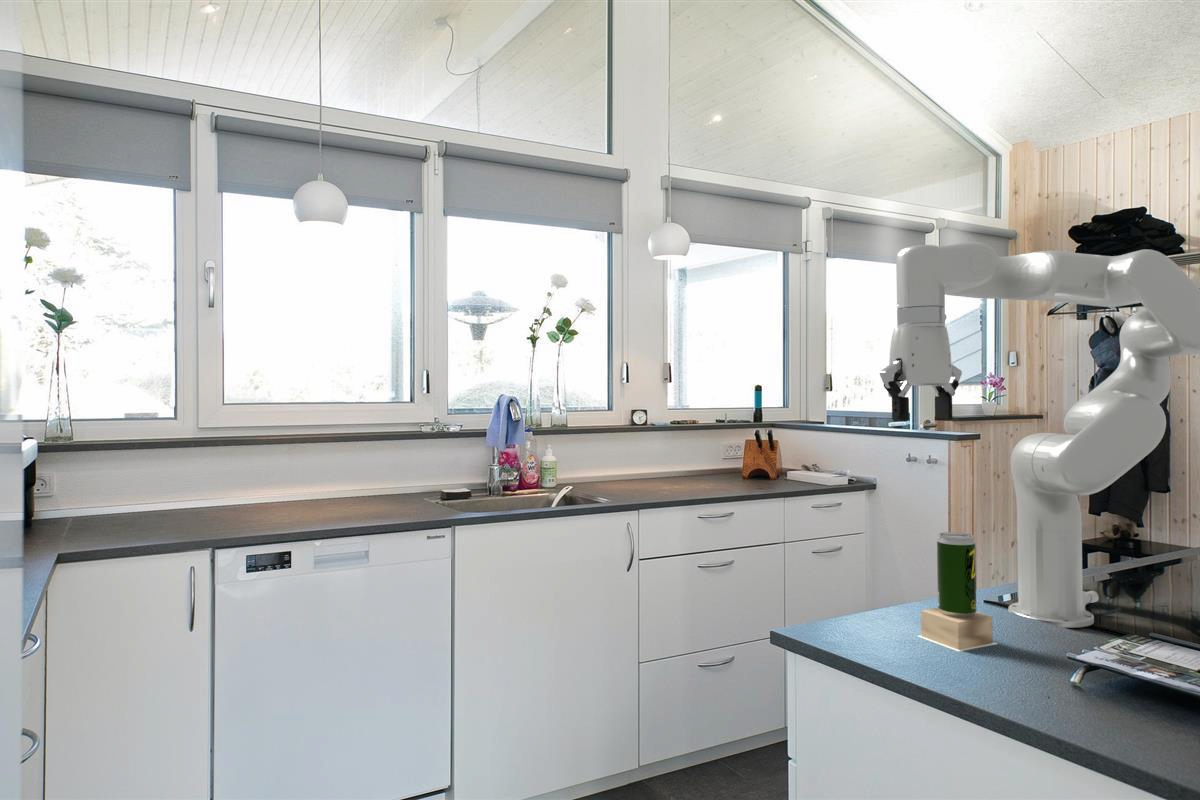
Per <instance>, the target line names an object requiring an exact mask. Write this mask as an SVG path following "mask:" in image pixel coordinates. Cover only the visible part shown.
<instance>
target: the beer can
mask: <svg viewBox="0 0 1200 800" xmlns="http://www.w3.org/2000/svg"><path fill="white" fill-rule="evenodd" d="M974 537H975V536H974V535H973V534H970V533H965V532H954V531H953V532H951V531H949V532H948V531H947V532H945V531H944V532H939V533H938V538H937V540H936V550H937V551H936V557H937V559H936V560H937V561H936V564H937V565H936V567H937V569H936V570H937V573H936V574H937V608H939V611H940V612H941V613H942V614H943V615H946V616H950V617H957V618H969V617H973V616H974V615H975V613H976V612H977V561H976V558H977V557H976V555H977V554H976V551H977V550H976V549H977V548H976V541H975V539H974Z"/></svg>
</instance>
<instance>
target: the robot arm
mask: <svg viewBox="0 0 1200 800" xmlns="http://www.w3.org/2000/svg"><path fill="white" fill-rule="evenodd" d="M896 254H897V255H896V259H895V261H896V262H895V263H896V264H895V265H896V322H897V323H896V324H897V327H894V328H893V332H892V336H891V341H890V347H889V361H888V362H889V363H888V365H887V366H886V367H885V368H883V369H882V370H880V371H879V376H880V378H881V380H882V383H883V388H884V389H885V390H886V392H887V393H888V397H890V398H891V419H892V421H893V422H908V421H909V420H910V399H909V396H907V394H908V392H909V391H910V389H911V387H916V386H917V387H919V386H924V387H925V386H931V387H932V388H933V390H934V391H935V392H936V395H937V396H936V395H935V396H934V418H935V419H936V420H952V419H953V397H954V396H955V394H956V390H957V388H958V387H959V384H960V383H959V382H960V380H961V377H962V374H963V373H962V370H961V369H959V367H957V366H955V365H954V364H952V355H951V353H952V352H951V345H950V344H951V343H950V338H949V334H948V329H947V328H948V327H947V326H946V320H947V315H946V301H945V300H946V299H945V297H946V296H954V297H963V298H970V299H971V298H973V299H988V300H989V299H992V300H993V299H994V300H995V299H996V300H1014V301H1042V302H1044V301H1045V302H1055V303H1063V304H1065V303H1066V304H1074V305H1076V304H1077V305H1084V306H1093V307H1104V308H1105V307H1106V308H1113V307H1114V308H1115V307H1123V306H1124V307H1125V306H1130V305H1134V304H1140V303H1141V305H1142V306H1143V307H1144V309H1143V310H1140V311H1137V312H1135V313H1134V314H1131V315H1130V316H1129V317H1128V318H1127V319H1126V320H1125V321H1124V322H1123V324H1122V326H1121V328H1120V331H1119V338H1118V339H1119V347H1120V349H1119V350H1120V361H1119V363H1118V366H1117V368H1116V369H1115V370H1114V371H1113V372H1112V373H1111V374H1110V375H1109V376H1108V377H1107V378H1105V380H1103V381H1102V382H1101V383H1099V384H1098V385H1097V386H1096V387H1094V388H1093V389H1092V390H1091V391H1090V392H1088V393H1087V394H1086V395H1084V396H1083V397H1082V398H1080V399H1079V400H1078V401H1077V402H1075V403H1074V404H1073V405H1072V406H1071V407H1070V408H1069V410H1068V411H1067V413H1066V415H1065V417H1064V420H1063V429H1064V431H1065V433H1054V432H1037V433H1032V434H1029V435H1027V436H1025V437H1023V438H1022V439H1021V440H1019V441H1018V442H1017V443H1016V445H1015V446H1014V448H1013V450H1012V452H1011V456H1010V469H1011V475H1012V481H1013V486H1014V490H1015V498H1016V517H1017V522H1016V523H1017V526H1016V528H1017V529H1016V531H1017V533H1016V536H1017V537H1016V538H1017V539H1016V540H1017V587H1018V588H1017V593H1018V595H1017V599H1018V601H1016V602H1014V603H1012V604H1009V606H1008V611H1007V612H1008V613H1011V614H1014V615H1015V614H1016V615H1017V616H1021V617H1024V618H1027V619H1030V620H1034V621H1035V620H1036V621H1038V622H1039V621H1040V622H1043V623H1046V624H1050V625H1053V626H1056V627H1060V628H1063V629H1075V628H1076V629H1079V628H1086V627H1090V626H1092V625H1093V624H1094V623H1095V616H1094V614H1093V613H1092V612H1090V611H1089V610H1087V609H1086V606H1087V605H1088V604H1090V603H1091V604H1092V603H1096V602H1098V601H1099V600H1100V599H1099V597H1100V596H1099V594H1098V593H1097V592H1096V591H1094V590H1089V591H1085V590H1083V540H1082V539H1083V538H1082V533H1083V532H1082V531H1083V530H1082V529H1083V524H1082V523H1083V522H1082V521H1083V520H1082V519H1083V518H1082V510H1081V507H1080V506H1081V505H1080V502H1079V499H1078V498H1079V497H1078V496H1089V495H1090V496H1091V495H1094V494H1096V493H1099V492H1100V491H1103V490H1104V489H1106V488H1108V487H1109V486H1111V485H1112V484H1113V483H1115V482H1116V481H1117V480H1118V479H1120V477H1122V476H1123V475H1125V474H1126V473H1128V471H1129V470H1131V469H1132V468H1133V467H1134V466H1136V465H1137V464H1138V463H1140V461H1142V460H1144V458H1145V457H1146V456H1148V455H1149V454H1150V453H1151V452H1153V450H1155V448H1156V447H1158V445H1159V443H1160V442H1161V441H1162V439H1163V437H1164V435H1165V432H1166V429H1167V418H1166V414H1165V411H1164V409H1163V407H1162V406H1161V405H1160V404H1162V402H1163V401H1164V400H1165V399H1166V398H1167V396H1168V395H1169V393H1170V390H1171V385H1172V372H1171V371H1172V370H1171V361H1170V357H1178V356H1191V355H1198V354H1200V287H1199V286H1197V284H1196V283H1195V282H1194V281H1193V279H1191V277H1190V276H1189V275H1188V274H1187V273H1186V272H1185V271H1184V270H1183V269H1182V268H1181V266H1179V265H1178V264H1176V262H1175V261H1173V260H1172V259H1171V258H1170V257H1168V256H1167V255H1166V254H1164V253H1162V252H1160V251H1158V250H1154V249H1148V248H1147V249H1139V250H1136V251H1132V252H1128V253H1125V254H1121V255H1113V256H1111V255H1101V254H1092V253H1091V254H1090V253H1081V252H1079V253H1078V252H1070V251H1062V250H1052V249H1051V250H1039V251H1032V252H1028V253H1027V252H1026V253H1022V254H1021V253H1020V254H1015V255H1008V256H999V255H998V253H997V252H996V250H995V249H994V248H993V247H992V246H991V245H989V244H986V243H983V242H979V241H969V242H960V243H955V244H949V245H939V246H938V245H934V244H919V245H912V246H906V247H904V248H902V249H901V250H899V251H898V252H897V253H896ZM945 295H946V296H945Z"/></svg>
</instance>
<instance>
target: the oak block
mask: <svg viewBox="0 0 1200 800" xmlns="http://www.w3.org/2000/svg"><path fill="white" fill-rule="evenodd" d="M920 619H921V620H920V621H921V622H920V625H921V627H920V629H921V631H920V632H921V634H920V635H922V637H925V638H927V639H930V640H933V641H936V642H938V643H941V644H944V645H947V646H949V647H952V648H955V649H957V650H960V649H965V648H970V647H976V646H981V645H986V644H991V643H993V642H994V637H993V635H994V634H993V633H994V632H993V627H994V626H993V623H994V622H993V616H992V615H988V614H986V613H981V612H979V611H976V613H975V615H974V616H973V617H969V618H957V617H950V616H946V615H943V614H942V613H941V612H940V611H939V608H938V607H935V608H929V609H923V610H921V611H920Z"/></svg>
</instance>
